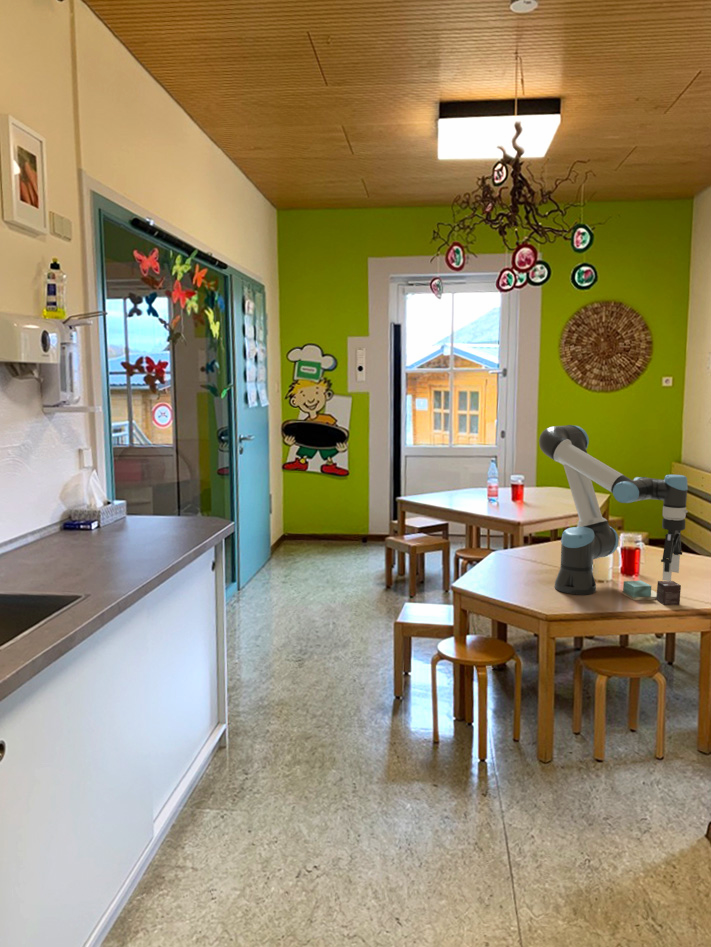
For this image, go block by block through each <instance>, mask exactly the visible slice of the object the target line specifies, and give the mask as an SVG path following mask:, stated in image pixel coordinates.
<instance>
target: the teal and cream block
mask: <svg viewBox="0 0 711 947" xmlns="http://www.w3.org/2000/svg"><path fill="white" fill-rule="evenodd" d="M622 586H623V587H622V589H623V590H622V591H621V594H622V595H624V596H625V597H628V598H629V599H631V600H633V601H644V600H645V601H649V600H656V597H657V591H654V590H653V589H652V585H650V584H649V583H647V582H644V581H643V580H624V581H623V585H622Z"/></svg>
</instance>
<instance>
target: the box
mask: <svg viewBox="0 0 711 947" xmlns="http://www.w3.org/2000/svg"><path fill="white" fill-rule="evenodd" d="M656 584H657V585H656V587H657V588H656V592H657V597H656V599H655V601H657V602H659V603H660V604H662V605H663V606H670V605H672V606H673V605H674V606H675V605H676V606H677V605H678V606H679V605H681V604H680V603H681V590H682V586H681V584H679V583H677V582H675V581H674V580H671V581H666V580H657V583H656Z"/></svg>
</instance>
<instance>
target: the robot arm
mask: <svg viewBox="0 0 711 947" xmlns="http://www.w3.org/2000/svg"><path fill="white" fill-rule="evenodd" d="M589 441H590V440H589V435H588V434H587V431H586V430H585V429H583V428H582V427H581V426H579V425H573V424H572V425H571V424H568V425H555V426H553V425H552V426H549V427H547V428H545V429H544V430H543V431H542V432H541V433H540V435H539V438H538V443H539V444H538V445H539V448H540V450H541V451H542V453H543V454H544V455H546V456H547V457H548V458H550V459H552V460H553V461H554V462H557V463H559V464H561V465H562V466H563V468H564V471H565V475H566V478H567V482H568V485H569V488H570V492H571V496H572V499H573V501H574V506H575V509H576V512H577V516H578V520H579V524H578V526H573V527H568V528H566V529H565V530H564V531H563V532H562V533H561V534H562V535H561V540H560V542H561V544H560V545H561V549H560V568H559V571H558V574H557V575H556V577H555V581H554V588H555V590H557V591H559V592H561V593H565V594H571V595H577V596H578V595H579V596H580V595H581V596H582V595H591V594H595V592H596V591H597V585H596V581H595V580H596V579H595V577H594V572H593V564H594V563H593V560H596V559H600V558H606V557H608V556H610V555H612V554H613V553H615V551H617V549H618V547H619V542H620V541H619V540H620V539H619V535H618V533H617V531H616V530H615V528H613V527H612V526H610V524H609V521H608V519H606V518H605V517H603V515H602V512H601V509H600V506H599V502H598V498H597V494H596V492H595V488H594V486H593V482H594V483H596V484H597V485H599V486H600V487H602V488H603V489H606V490H607V491H609V492H610V493H612V496H613V497H614V499H615V500H616V501H617V502H618V503H622V504H630V503H633V502H638V501H644V500H658V501H663V505H662V517H663V518H662V523H661V524H662V525H661V527H662V529H664V530H667V533H665V538H664V545H663V546H664V547H663V553H662V559H660V563H663V565H662V566H663V567H662V580H661V581H672V573H677V574H679V573H680V559H681V556H683V551H682V537H681V534H682V533H681V532H682V531H684V530H686V519H685V518H686V515H687V513H688V512H689V511H688V510H687V499H688V489H689V487H688V478H687V476H686V475H682V474H666V475H665V476H664V479H662V478H661V479H660V478H652V477H651V478H650V477H646V476H643V477H642V476H640V477H639V476H636V477H634V478H633V479H631V478H629V477H627V476H626V475H624V474H623V473H621V472H619V471H618V470H616V469H614V468H612V467H610V465H607V464H606V463H604V462H602V461H600V460H599V459H597V458H595V457H593V456H592V455H590V454H589V453H588V451H587V449H588V446H589Z"/></svg>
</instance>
